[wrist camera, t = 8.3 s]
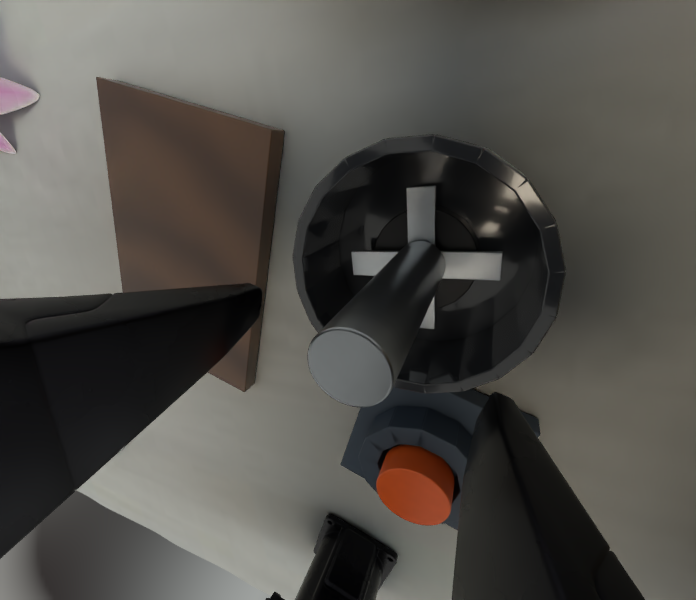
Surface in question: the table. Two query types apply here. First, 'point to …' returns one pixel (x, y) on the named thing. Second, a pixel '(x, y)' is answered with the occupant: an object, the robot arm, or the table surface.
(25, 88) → the lily
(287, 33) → the table surface
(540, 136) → the table surface
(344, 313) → the blade
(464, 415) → the button block
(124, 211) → the cutting board
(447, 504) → the button
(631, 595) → the robot arm
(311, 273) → the dark fan housing
